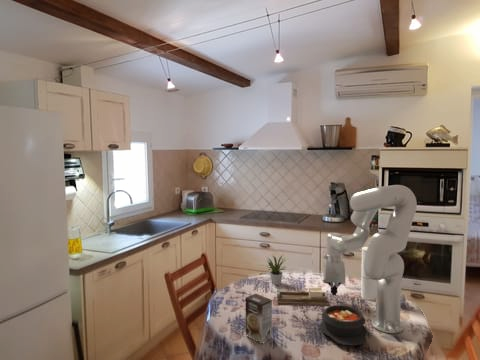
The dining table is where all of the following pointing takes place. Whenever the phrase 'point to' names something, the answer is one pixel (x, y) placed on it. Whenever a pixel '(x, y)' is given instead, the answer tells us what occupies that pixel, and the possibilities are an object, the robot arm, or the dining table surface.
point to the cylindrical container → (367, 281)
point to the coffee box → (259, 317)
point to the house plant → (276, 270)
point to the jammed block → (315, 292)
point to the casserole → (344, 325)
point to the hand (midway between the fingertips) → (333, 294)
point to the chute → (299, 298)
